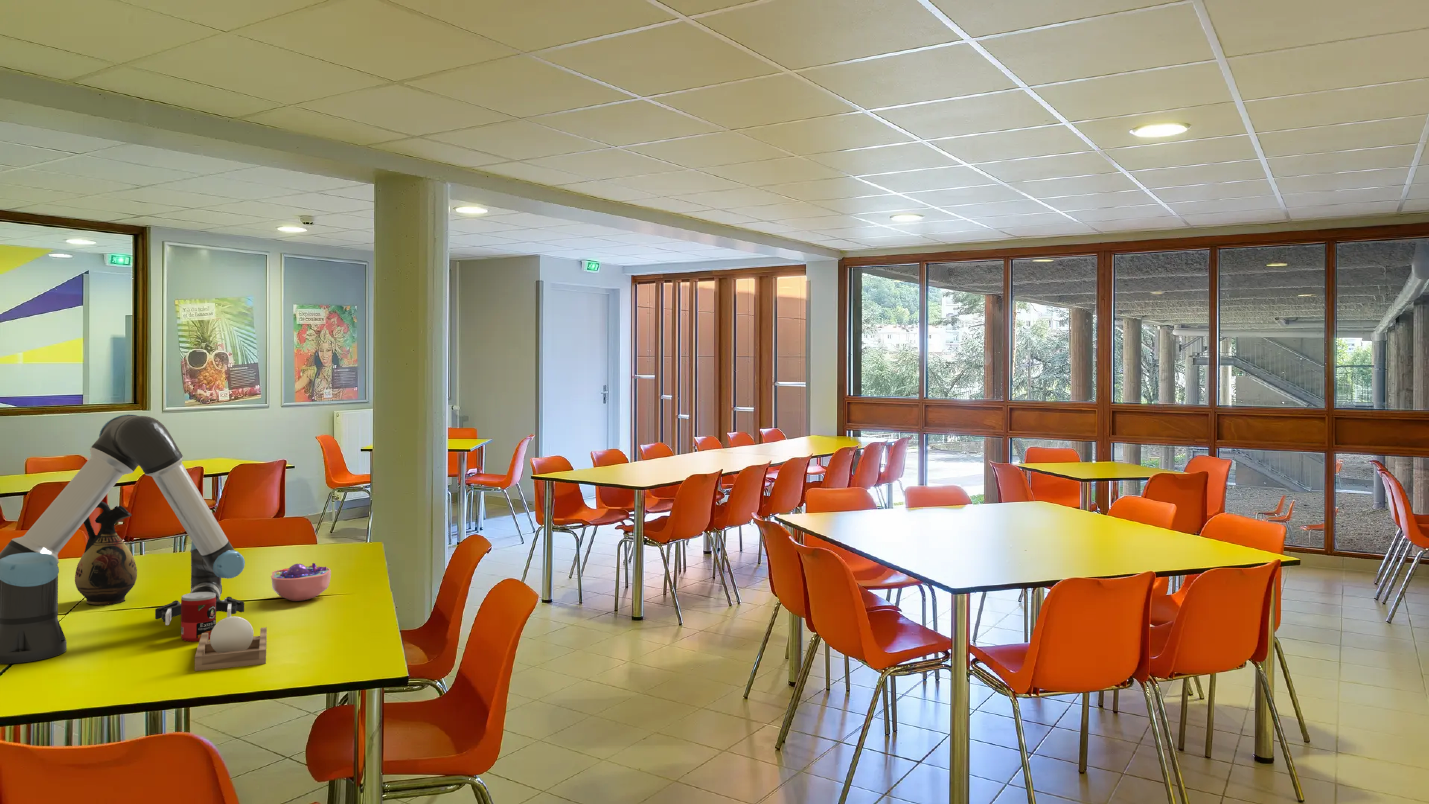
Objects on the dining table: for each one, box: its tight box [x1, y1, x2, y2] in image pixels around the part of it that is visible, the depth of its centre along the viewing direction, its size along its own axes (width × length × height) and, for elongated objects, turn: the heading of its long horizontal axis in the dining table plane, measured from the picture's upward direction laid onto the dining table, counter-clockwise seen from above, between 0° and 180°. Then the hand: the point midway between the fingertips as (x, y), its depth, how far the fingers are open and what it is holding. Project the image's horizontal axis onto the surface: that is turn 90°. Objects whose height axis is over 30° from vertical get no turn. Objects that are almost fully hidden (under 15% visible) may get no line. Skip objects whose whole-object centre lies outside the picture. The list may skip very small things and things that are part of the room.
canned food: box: [180, 592, 217, 643], centre depth 234 cm, size 8×8×11 cm
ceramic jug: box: [74, 500, 138, 606], centre depth 272 cm, size 17×15×30 cm
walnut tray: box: [194, 626, 268, 672], centre depth 220 cm, size 22×14×3 cm, turn 26°
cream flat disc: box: [209, 615, 255, 653], centre depth 216 cm, size 1×9×9 cm, turn 116°
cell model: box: [270, 562, 332, 602], centre depth 279 cm, size 17×20×11 cm
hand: (198, 617), depth 232 cm, fingers open, 13 cm apart
